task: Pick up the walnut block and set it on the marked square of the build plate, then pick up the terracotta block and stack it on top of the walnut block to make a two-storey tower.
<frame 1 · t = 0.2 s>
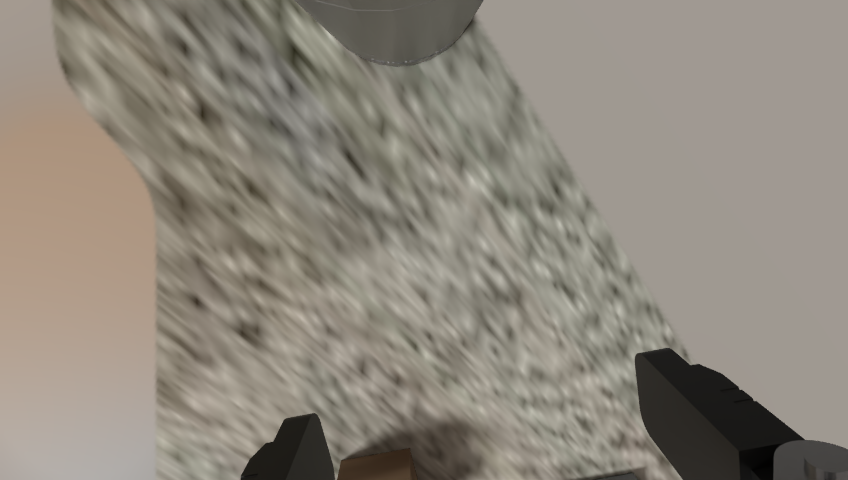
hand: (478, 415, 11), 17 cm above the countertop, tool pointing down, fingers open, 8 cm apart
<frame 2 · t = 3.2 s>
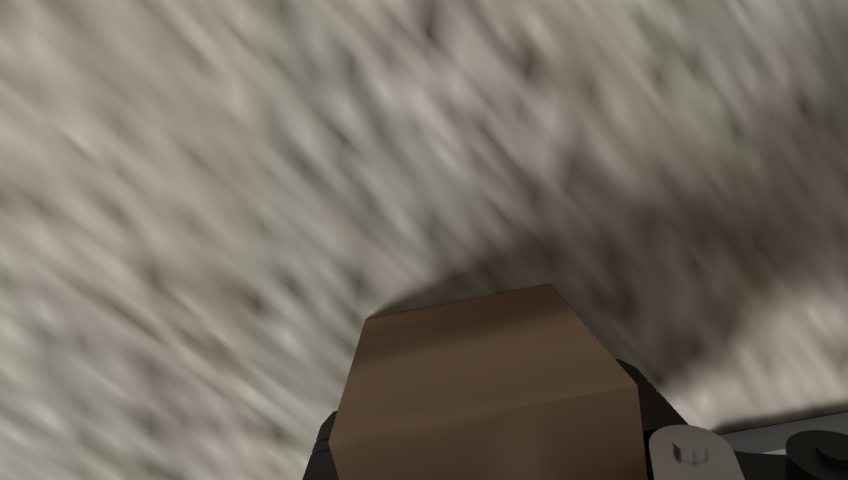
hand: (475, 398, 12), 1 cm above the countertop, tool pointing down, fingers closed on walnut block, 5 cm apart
walnut block: (473, 384, 13), on the countertop, touching gripper
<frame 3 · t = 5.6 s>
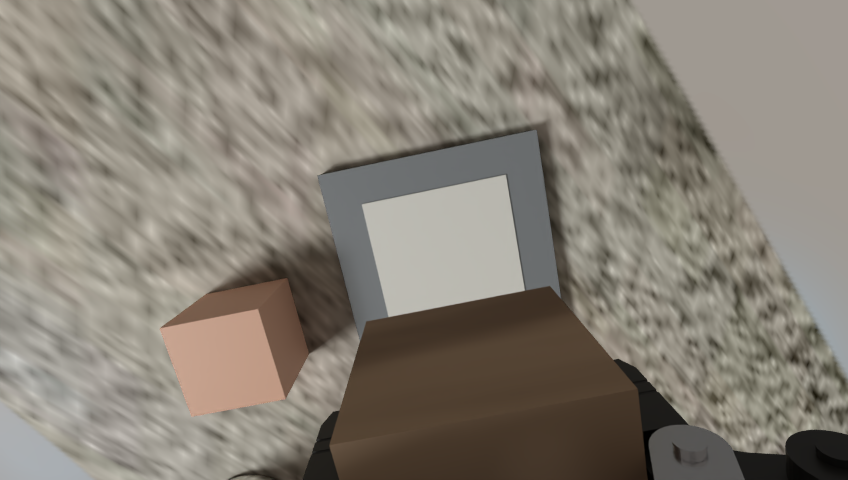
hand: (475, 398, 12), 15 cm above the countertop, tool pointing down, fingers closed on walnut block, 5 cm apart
terracotta block: (258, 323, 28), on the countertop
build plate: (446, 254, 26), on the countertop
walnut block: (473, 386, 13), point 14 cm above the countertop, touching gripper
when the fingers open (3 cm above the countertop, at t = 8.1 s): walnut block drops 1 cm, resting on build plate.
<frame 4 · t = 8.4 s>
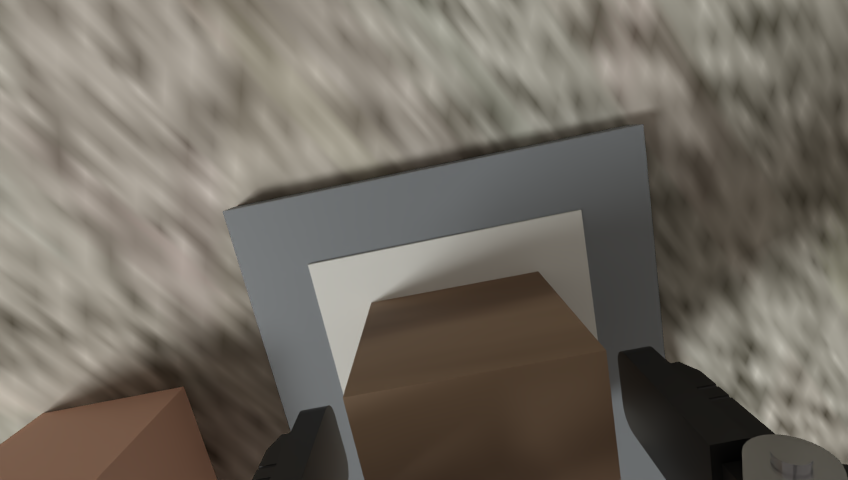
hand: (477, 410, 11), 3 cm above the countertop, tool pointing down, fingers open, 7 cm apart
terracotta block: (139, 460, 16), on the countertop
build plate: (464, 347, 15), on the countertop
walnut block: (468, 363, 14), point 1 cm above the countertop, touching build plate
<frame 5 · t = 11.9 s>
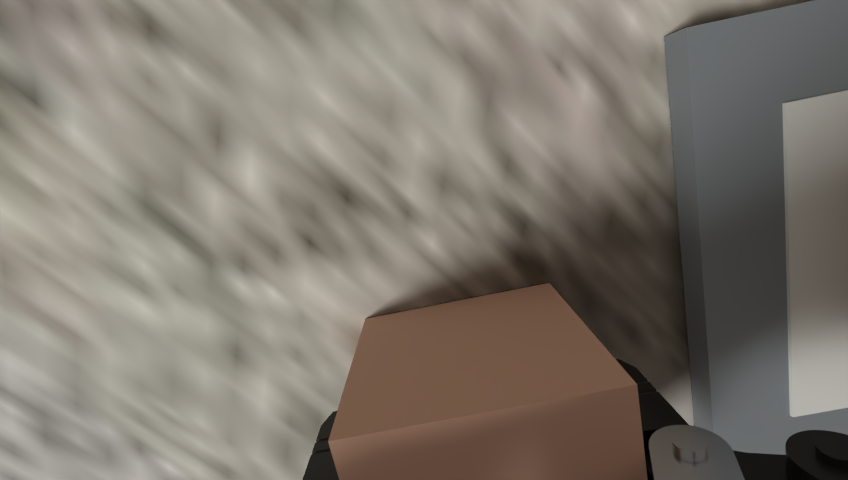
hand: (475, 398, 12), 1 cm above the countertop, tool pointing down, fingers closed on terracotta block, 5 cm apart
terracotta block: (473, 383, 13), on the countertop, touching gripper
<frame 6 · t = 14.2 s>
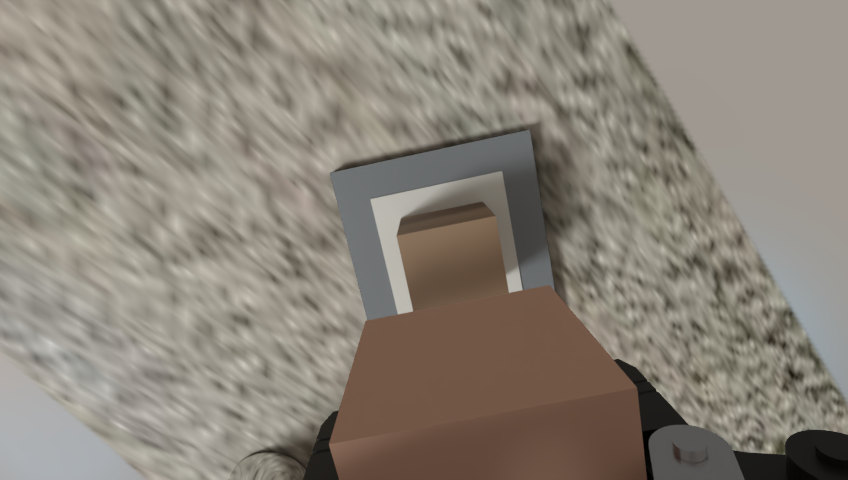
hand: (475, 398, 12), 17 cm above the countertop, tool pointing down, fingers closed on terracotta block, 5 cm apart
terracotta block: (473, 385, 13), point 16 cm above the countertop, touching gripper
build plate: (448, 245, 29), on the countertop
walnut block: (449, 249, 28), point 1 cm above the countertop, touching build plate
when the fingers open (8 cm above the countertop, at t = 16.4 s): terracotta block drops 1 cm, resting on walnut block.
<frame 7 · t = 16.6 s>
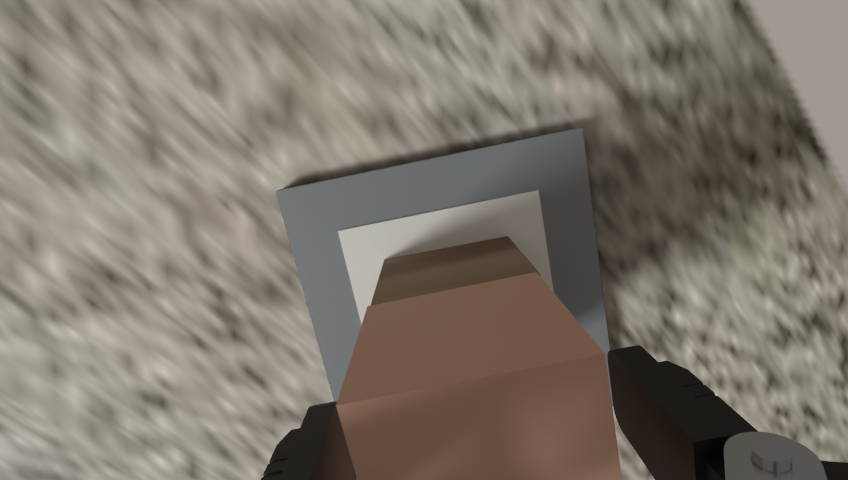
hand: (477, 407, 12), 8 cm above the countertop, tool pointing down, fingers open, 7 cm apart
terracotta block: (467, 366, 14), point 6 cm above the countertop, touching walnut block
build plate: (454, 296, 20), on the countertop
walnut block: (456, 305, 19), point 1 cm above the countertop, touching build plate, terracotta block
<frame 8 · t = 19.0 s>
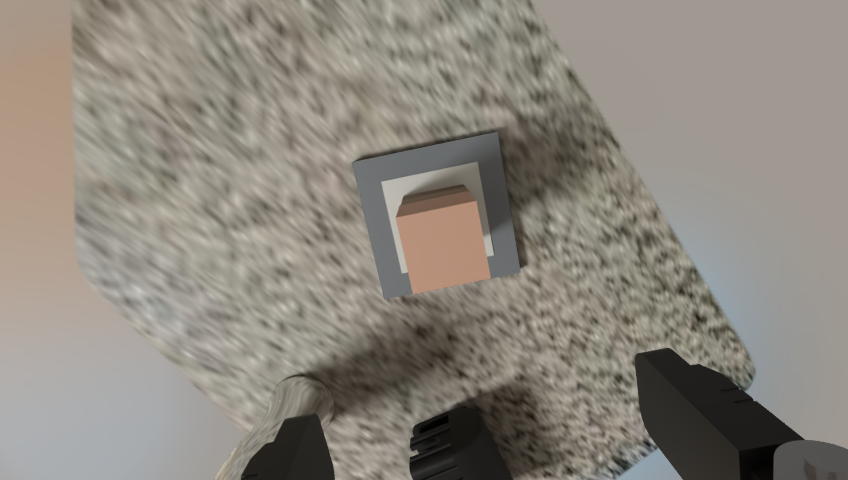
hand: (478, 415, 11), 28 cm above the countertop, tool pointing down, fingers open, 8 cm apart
terracotta block: (440, 231, 33), point 6 cm above the countertop, touching walnut block
build plate: (438, 217, 39), on the countertop
walnut block: (438, 219, 38), point 1 cm above the countertop, touching build plate, terracotta block
end cap: (463, 448, 44), on the countertop
beer glass: (303, 403, 43), on the countertop
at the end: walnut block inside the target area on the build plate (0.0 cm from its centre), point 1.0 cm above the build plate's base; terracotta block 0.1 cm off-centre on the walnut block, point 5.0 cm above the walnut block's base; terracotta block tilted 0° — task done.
